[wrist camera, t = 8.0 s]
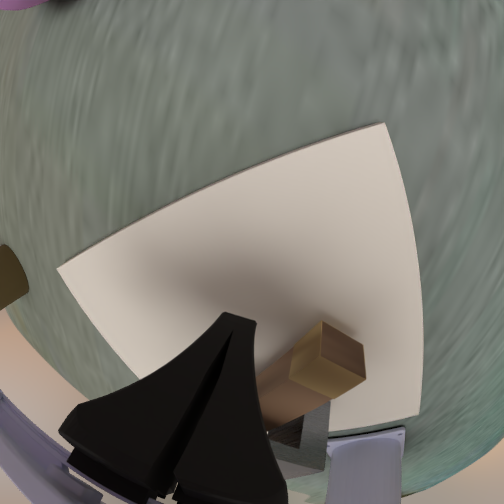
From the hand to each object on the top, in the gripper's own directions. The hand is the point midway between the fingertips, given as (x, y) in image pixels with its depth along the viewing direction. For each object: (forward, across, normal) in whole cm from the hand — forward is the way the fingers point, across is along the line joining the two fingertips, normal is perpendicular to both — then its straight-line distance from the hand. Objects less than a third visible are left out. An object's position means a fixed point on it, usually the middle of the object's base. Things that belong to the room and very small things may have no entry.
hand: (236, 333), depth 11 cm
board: (+3, 0, +5) cm, 6 cm away
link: (+1, -2, +7) cm, 7 cm away
